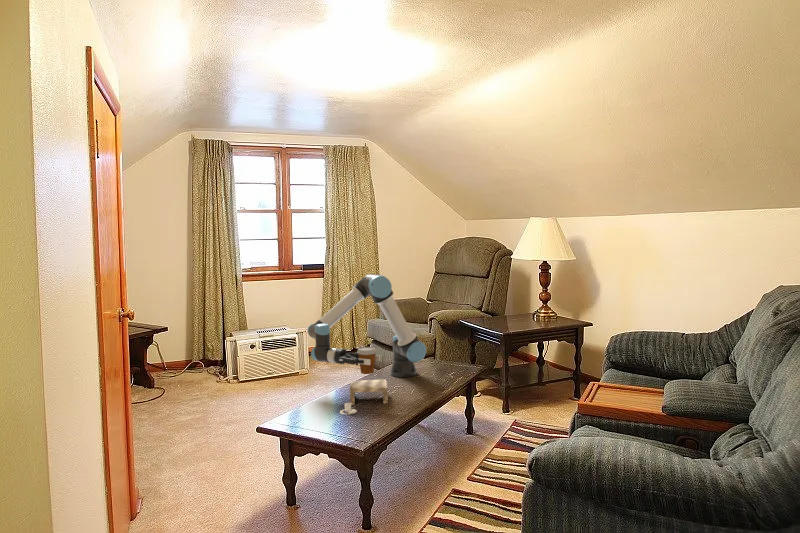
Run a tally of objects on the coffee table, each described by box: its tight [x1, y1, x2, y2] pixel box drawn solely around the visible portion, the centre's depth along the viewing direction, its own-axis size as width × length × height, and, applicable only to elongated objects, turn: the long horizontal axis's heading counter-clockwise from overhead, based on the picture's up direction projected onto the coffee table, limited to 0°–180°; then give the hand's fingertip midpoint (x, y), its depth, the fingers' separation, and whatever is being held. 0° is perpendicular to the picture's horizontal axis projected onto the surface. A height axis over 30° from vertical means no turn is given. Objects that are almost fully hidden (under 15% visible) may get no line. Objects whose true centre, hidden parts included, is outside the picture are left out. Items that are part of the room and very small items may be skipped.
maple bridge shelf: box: [349, 378, 389, 406], centre depth 280 cm, size 18×16×8 cm
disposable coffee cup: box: [356, 346, 377, 375], centre depth 279 cm, size 10×10×12 cm
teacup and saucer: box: [339, 402, 358, 415], centre depth 261 cm, size 9×8×4 cm
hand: (375, 360), depth 276 cm, fingers closed on disposable coffee cup, 8 cm apart
